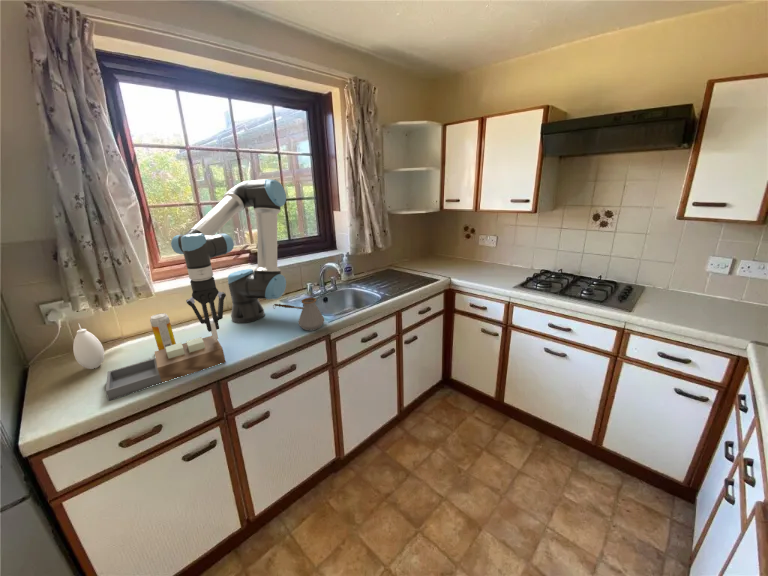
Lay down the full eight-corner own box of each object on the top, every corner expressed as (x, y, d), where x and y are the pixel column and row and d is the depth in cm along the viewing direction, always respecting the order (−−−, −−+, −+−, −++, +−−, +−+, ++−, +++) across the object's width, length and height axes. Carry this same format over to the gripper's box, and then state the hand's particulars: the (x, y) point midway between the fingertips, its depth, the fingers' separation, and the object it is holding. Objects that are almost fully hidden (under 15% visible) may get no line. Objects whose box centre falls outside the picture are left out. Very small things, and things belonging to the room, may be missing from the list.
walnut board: (217, 348, 132) (214, 334, 130) (225, 362, 121) (222, 348, 119) (158, 366, 121) (154, 351, 119) (162, 383, 110) (157, 367, 108)
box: (158, 366, 121) (156, 357, 120) (162, 383, 110) (159, 374, 109) (110, 380, 113) (107, 371, 112) (109, 400, 102) (105, 391, 101)
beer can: (173, 345, 136) (164, 311, 131) (179, 349, 132) (170, 315, 128) (157, 351, 132) (146, 316, 127) (162, 355, 128) (152, 320, 123)
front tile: (183, 348, 120) (181, 342, 119) (184, 353, 116) (183, 347, 115) (167, 353, 117) (165, 346, 116) (168, 358, 113) (166, 352, 113)
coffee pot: (318, 319, 155) (314, 289, 151) (329, 327, 146) (326, 295, 142) (273, 332, 144) (268, 300, 139) (282, 342, 135) (277, 308, 130)
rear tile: (202, 343, 124) (201, 337, 123) (205, 347, 120) (203, 341, 119) (187, 347, 121) (186, 341, 120) (189, 352, 117) (188, 346, 116)
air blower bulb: (76, 375, 117) (58, 329, 111) (88, 364, 124) (71, 320, 118) (102, 371, 119) (85, 325, 113) (112, 360, 126) (97, 317, 120)
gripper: (182, 284, 110) (197, 347, 117) (224, 276, 117) (236, 336, 124) (179, 279, 115) (194, 339, 123) (219, 272, 123) (231, 329, 130)
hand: (215, 337), depth 124 cm, fingers closed
